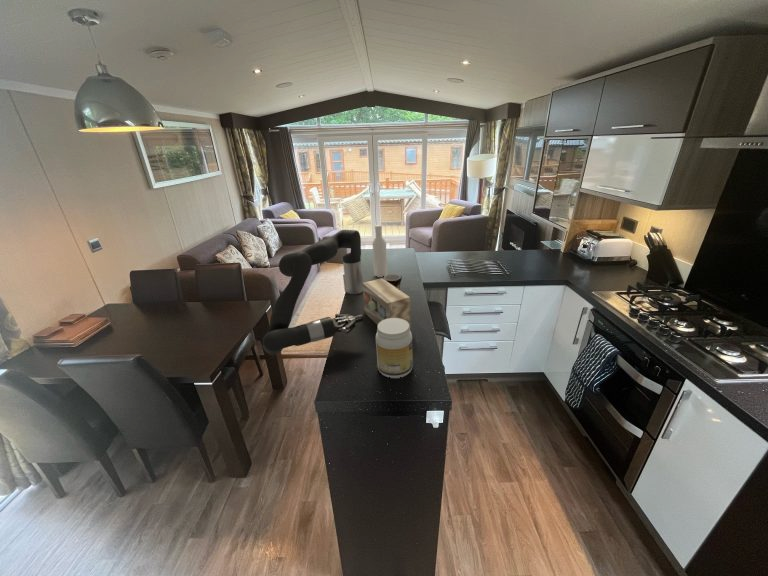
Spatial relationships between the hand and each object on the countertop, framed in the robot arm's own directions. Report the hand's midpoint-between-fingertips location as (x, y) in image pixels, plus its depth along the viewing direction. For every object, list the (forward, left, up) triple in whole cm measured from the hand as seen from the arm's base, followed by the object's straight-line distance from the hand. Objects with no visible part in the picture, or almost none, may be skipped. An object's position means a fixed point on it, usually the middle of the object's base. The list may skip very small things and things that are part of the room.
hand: (363, 317), depth 121 cm
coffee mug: (-10, +41, -10) cm, 43 cm away
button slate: (+4, +8, -3) cm, 9 cm away
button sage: (-3, +11, -3) cm, 11 cm away
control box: (0, +16, -10) cm, 19 cm away
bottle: (-32, +61, -10) cm, 70 cm away
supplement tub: (+20, -10, -10) cm, 25 cm away
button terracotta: (-9, +15, -3) cm, 18 cm away
